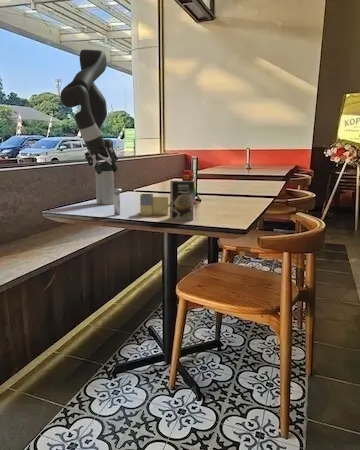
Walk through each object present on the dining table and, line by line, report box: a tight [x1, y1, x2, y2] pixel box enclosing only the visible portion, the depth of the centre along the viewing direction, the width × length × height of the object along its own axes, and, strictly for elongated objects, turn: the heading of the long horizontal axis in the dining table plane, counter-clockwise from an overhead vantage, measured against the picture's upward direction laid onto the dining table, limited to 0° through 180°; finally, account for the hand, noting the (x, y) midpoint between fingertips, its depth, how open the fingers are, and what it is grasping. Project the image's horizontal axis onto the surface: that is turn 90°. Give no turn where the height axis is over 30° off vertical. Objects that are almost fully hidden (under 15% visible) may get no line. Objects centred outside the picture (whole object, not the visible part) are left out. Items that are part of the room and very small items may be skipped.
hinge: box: [139, 193, 169, 217], centre depth 167 cm, size 12×12×9 cm
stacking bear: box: [180, 169, 197, 205], centre depth 198 cm, size 11×10×18 cm
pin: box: [111, 188, 123, 216], centre depth 162 cm, size 5×5×12 cm
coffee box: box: [169, 180, 195, 222], centre depth 153 cm, size 9×6×16 cm
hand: (107, 172), depth 156 cm, fingers open, 8 cm apart
